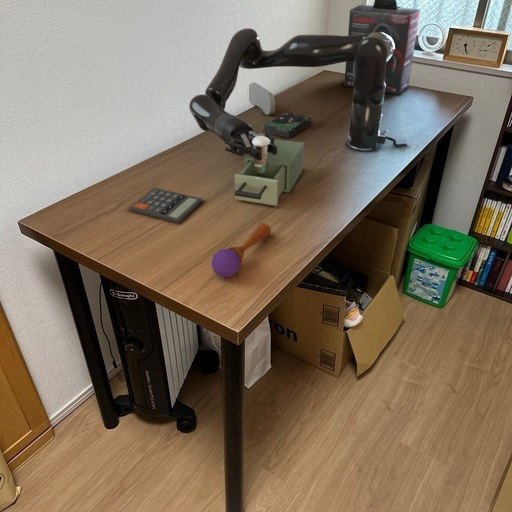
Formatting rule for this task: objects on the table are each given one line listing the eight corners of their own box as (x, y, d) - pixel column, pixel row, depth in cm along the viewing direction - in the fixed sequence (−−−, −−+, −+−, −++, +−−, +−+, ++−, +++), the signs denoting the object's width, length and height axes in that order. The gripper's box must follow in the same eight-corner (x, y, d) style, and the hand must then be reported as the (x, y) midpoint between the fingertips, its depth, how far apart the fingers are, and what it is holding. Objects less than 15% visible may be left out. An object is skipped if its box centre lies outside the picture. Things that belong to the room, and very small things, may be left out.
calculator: (154, 187, 134) (202, 198, 129) (155, 190, 135) (202, 201, 129) (128, 207, 126) (178, 219, 120) (129, 210, 126) (178, 222, 121)
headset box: (342, 86, 207) (349, -2, 187) (353, 78, 215) (362, -7, 196) (398, 95, 196) (413, 3, 177) (408, 87, 204) (423, -2, 185)
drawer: (269, 218, 121) (269, 193, 117) (226, 210, 124) (225, 186, 120) (290, 183, 136) (291, 160, 131) (252, 177, 139) (251, 154, 135)
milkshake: (271, 175, 125) (271, 138, 119) (250, 173, 126) (250, 136, 120) (274, 167, 129) (274, 131, 123) (254, 165, 130) (253, 129, 124)
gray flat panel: (275, 116, 179) (276, 94, 174) (270, 118, 178) (270, 95, 173) (252, 101, 193) (252, 79, 188) (247, 102, 192) (247, 80, 187)
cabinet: (288, 192, 133) (289, 163, 128) (245, 185, 136) (244, 157, 131) (302, 170, 144) (303, 142, 139) (261, 164, 147) (261, 137, 142)
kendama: (278, 224, 113) (232, 265, 98) (272, 244, 116) (227, 287, 101) (256, 213, 115) (208, 252, 100) (251, 234, 118) (204, 274, 103)
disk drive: (286, 119, 177) (263, 131, 167) (286, 111, 176) (263, 123, 166) (311, 124, 173) (289, 138, 163) (311, 117, 171) (289, 130, 161)
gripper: (208, 123, 128) (242, 145, 116) (254, 112, 134) (291, 132, 123) (210, 149, 133) (243, 174, 121) (255, 138, 139) (290, 160, 127)
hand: (267, 153), depth 122 cm, fingers closed on milkshake, 4 cm apart
